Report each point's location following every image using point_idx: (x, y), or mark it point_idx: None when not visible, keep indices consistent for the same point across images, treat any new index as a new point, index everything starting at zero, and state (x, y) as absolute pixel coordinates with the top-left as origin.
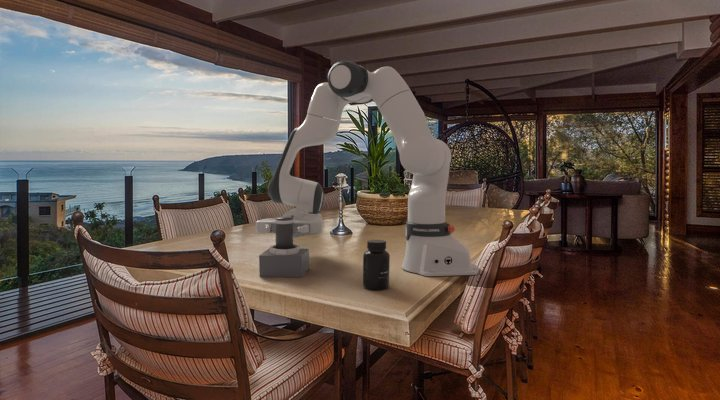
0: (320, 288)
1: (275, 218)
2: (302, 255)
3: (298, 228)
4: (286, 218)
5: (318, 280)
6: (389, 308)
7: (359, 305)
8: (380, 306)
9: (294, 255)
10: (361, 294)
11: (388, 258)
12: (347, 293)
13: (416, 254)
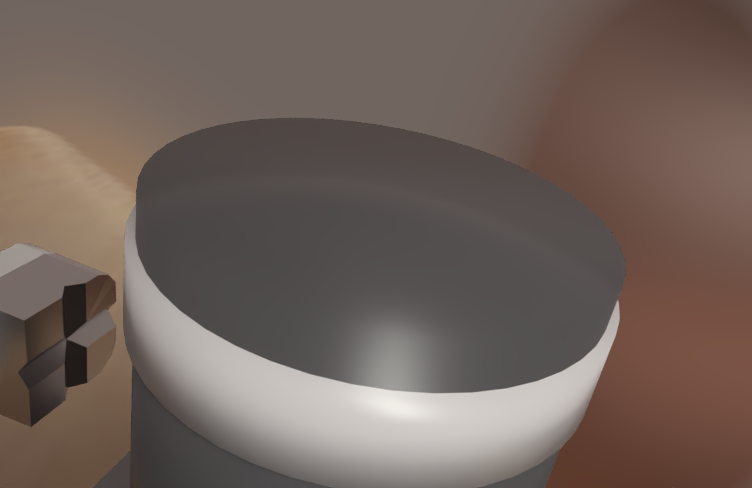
0: None
1: (598, 226)
2: (122, 460)
3: (98, 274)
4: (346, 134)
5: (61, 465)
6: (38, 146)
7: (112, 182)
8: (51, 160)
9: None
10: (13, 231)
11: None
12: (63, 256)
13: None
